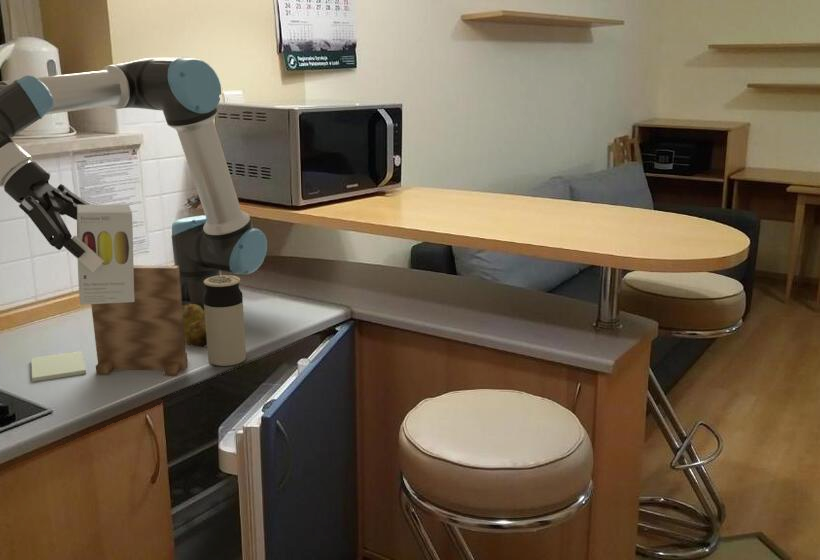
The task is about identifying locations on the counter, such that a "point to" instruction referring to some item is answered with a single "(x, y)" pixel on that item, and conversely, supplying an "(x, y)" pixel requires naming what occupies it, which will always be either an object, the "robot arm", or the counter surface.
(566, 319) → the counter surface
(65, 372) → the sticky note pad
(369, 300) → the counter surface
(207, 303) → the travel mug
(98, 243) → the supplement box
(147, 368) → the screen
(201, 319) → the potato
